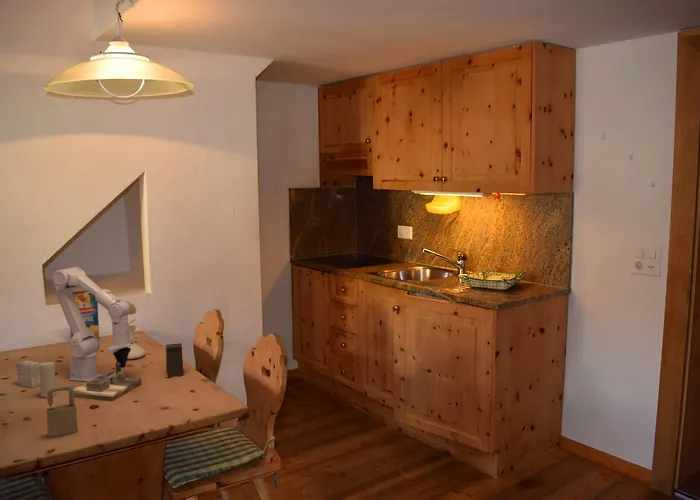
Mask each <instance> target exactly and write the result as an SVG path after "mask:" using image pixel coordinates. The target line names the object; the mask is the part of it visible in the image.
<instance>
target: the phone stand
mask: <svg viewBox="0 0 700 500" xmlns="http://www.w3.org/2000/svg"><path fill="white" fill-rule="evenodd" d="M165 371H166V375H167V378H173V377H174V376H176V377H182V376H183V377H184V361H183V345H182V343H169V344H166V345H165Z"/></svg>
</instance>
